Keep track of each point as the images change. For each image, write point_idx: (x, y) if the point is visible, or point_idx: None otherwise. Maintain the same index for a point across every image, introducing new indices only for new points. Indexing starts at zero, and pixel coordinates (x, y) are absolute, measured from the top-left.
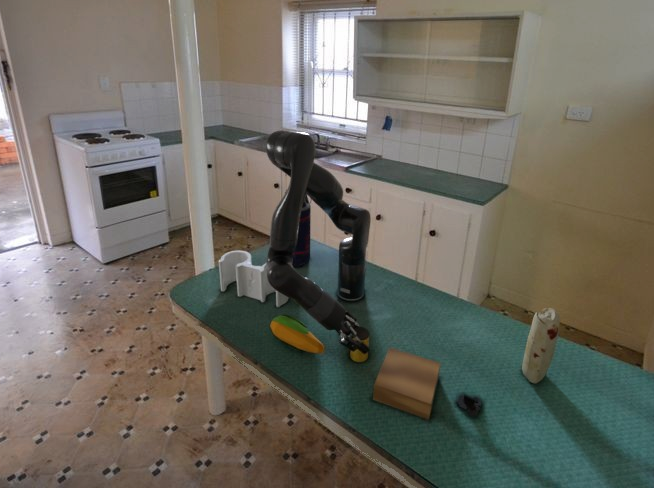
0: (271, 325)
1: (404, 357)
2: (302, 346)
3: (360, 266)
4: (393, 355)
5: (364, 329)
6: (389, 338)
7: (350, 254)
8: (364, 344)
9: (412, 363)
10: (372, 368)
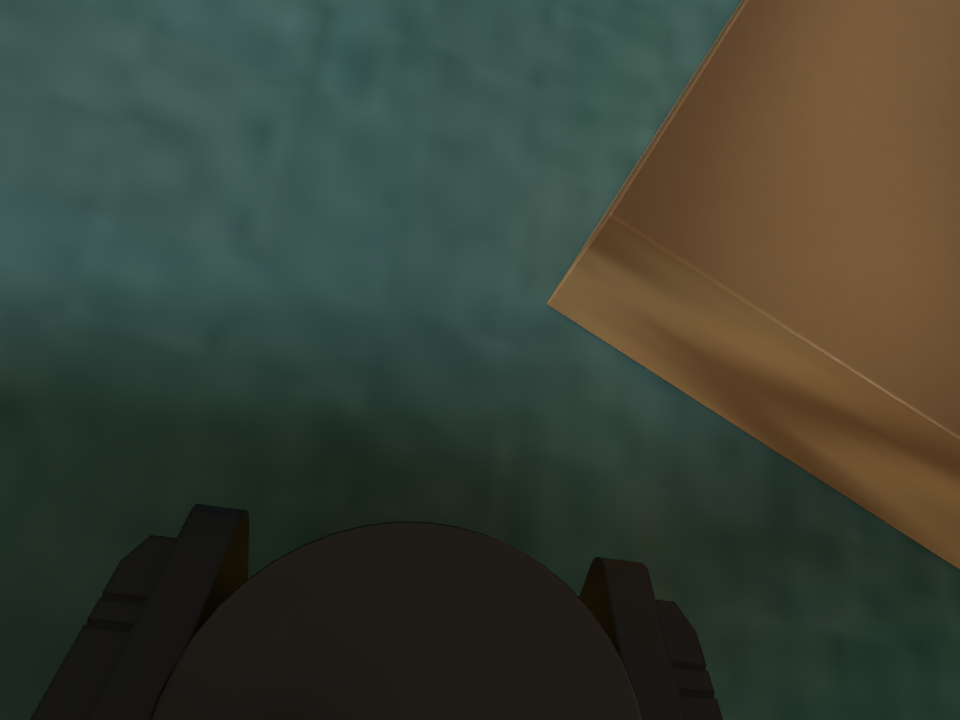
0: None
1: (825, 81)
2: None
3: None
4: (781, 213)
5: (289, 629)
6: (165, 163)
7: None
8: (653, 690)
9: (928, 26)
10: (630, 521)
